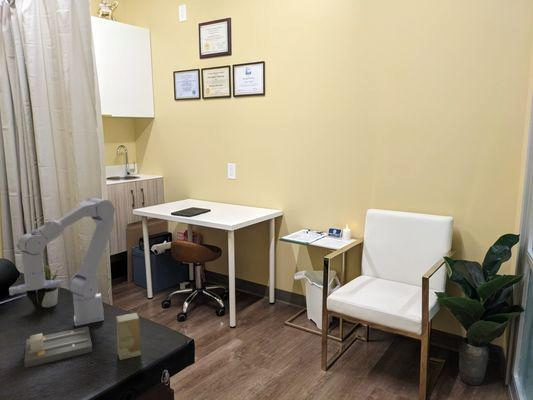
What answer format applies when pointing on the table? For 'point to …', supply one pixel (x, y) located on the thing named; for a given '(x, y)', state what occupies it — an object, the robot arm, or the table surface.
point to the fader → (36, 341)
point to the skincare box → (128, 336)
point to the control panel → (59, 346)
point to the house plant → (50, 291)
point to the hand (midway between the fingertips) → (38, 311)
